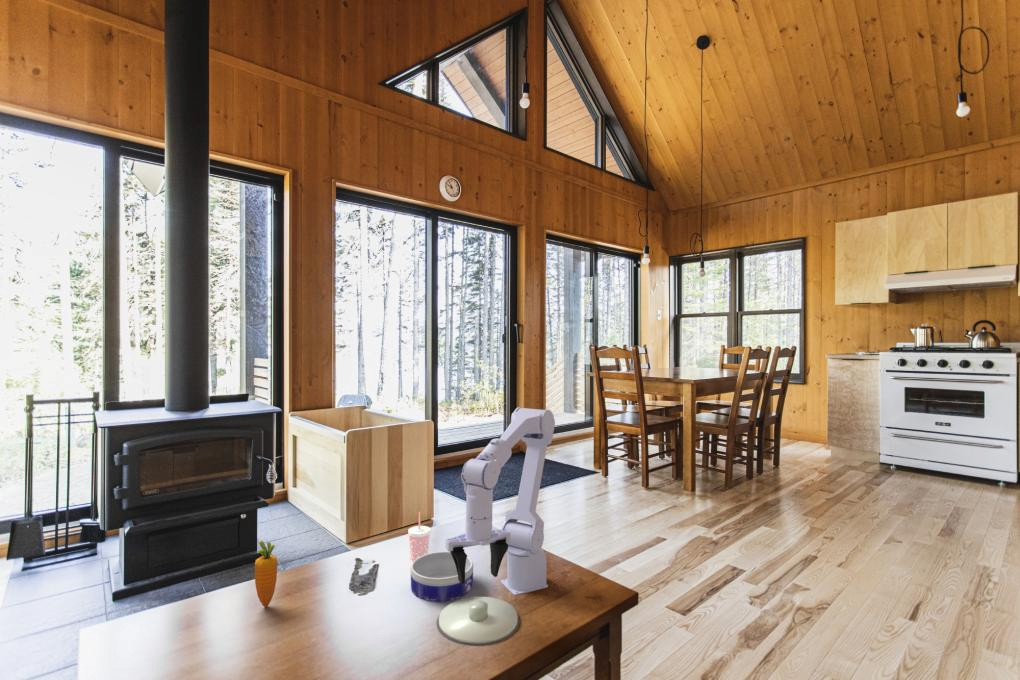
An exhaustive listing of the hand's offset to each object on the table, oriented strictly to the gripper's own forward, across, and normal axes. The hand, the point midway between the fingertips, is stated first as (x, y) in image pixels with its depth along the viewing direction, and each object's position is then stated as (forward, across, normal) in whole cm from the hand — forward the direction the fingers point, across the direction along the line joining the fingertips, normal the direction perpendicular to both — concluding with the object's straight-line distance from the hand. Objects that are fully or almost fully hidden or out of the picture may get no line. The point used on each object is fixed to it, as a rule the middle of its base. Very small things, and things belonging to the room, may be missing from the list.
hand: (478, 578), depth 109 cm
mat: (+10, 0, 0) cm, 10 cm away
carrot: (+10, -41, +26) cm, 50 cm away
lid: (+9, 0, 0) cm, 9 cm away
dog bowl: (+10, -2, +18) cm, 21 cm away
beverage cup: (+10, -3, +34) cm, 35 cm away
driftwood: (+10, -18, +32) cm, 38 cm away
